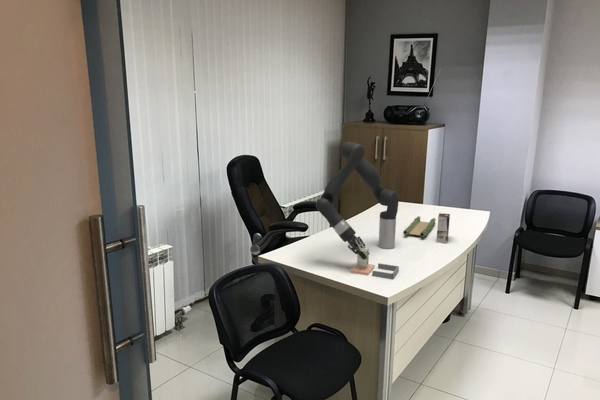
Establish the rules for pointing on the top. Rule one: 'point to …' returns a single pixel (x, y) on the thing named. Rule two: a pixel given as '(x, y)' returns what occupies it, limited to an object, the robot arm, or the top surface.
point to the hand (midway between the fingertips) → (366, 256)
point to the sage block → (360, 261)
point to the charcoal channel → (384, 274)
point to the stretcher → (419, 227)
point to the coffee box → (443, 228)
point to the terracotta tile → (362, 269)
